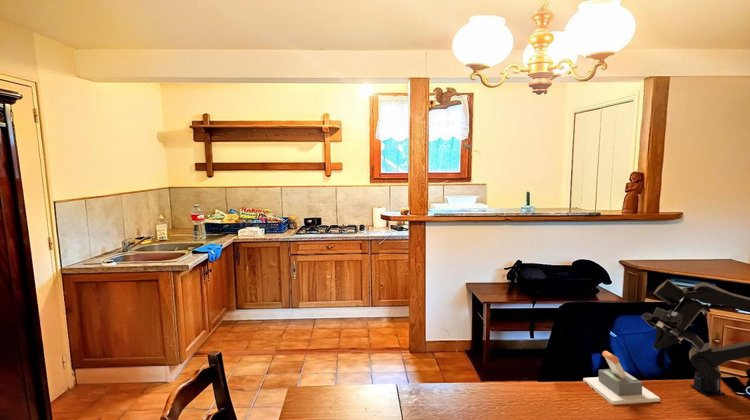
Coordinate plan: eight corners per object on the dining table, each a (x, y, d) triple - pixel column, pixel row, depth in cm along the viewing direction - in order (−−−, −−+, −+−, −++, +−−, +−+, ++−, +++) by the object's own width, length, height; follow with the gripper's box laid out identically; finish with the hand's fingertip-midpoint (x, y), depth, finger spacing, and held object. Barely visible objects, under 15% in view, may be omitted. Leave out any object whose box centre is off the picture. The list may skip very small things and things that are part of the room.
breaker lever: (616, 368, 132) (606, 349, 131) (627, 376, 127) (617, 356, 126) (611, 372, 132) (601, 352, 131) (622, 379, 127) (611, 359, 126)
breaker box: (625, 378, 138) (625, 363, 138) (659, 401, 123) (660, 385, 123) (583, 381, 137) (583, 366, 136) (612, 404, 122) (612, 388, 121)
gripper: (646, 290, 138) (618, 323, 138) (698, 311, 120) (666, 349, 119) (664, 308, 140) (637, 341, 140) (717, 331, 122) (686, 368, 122)
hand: (655, 348), depth 130 cm, fingers closed
